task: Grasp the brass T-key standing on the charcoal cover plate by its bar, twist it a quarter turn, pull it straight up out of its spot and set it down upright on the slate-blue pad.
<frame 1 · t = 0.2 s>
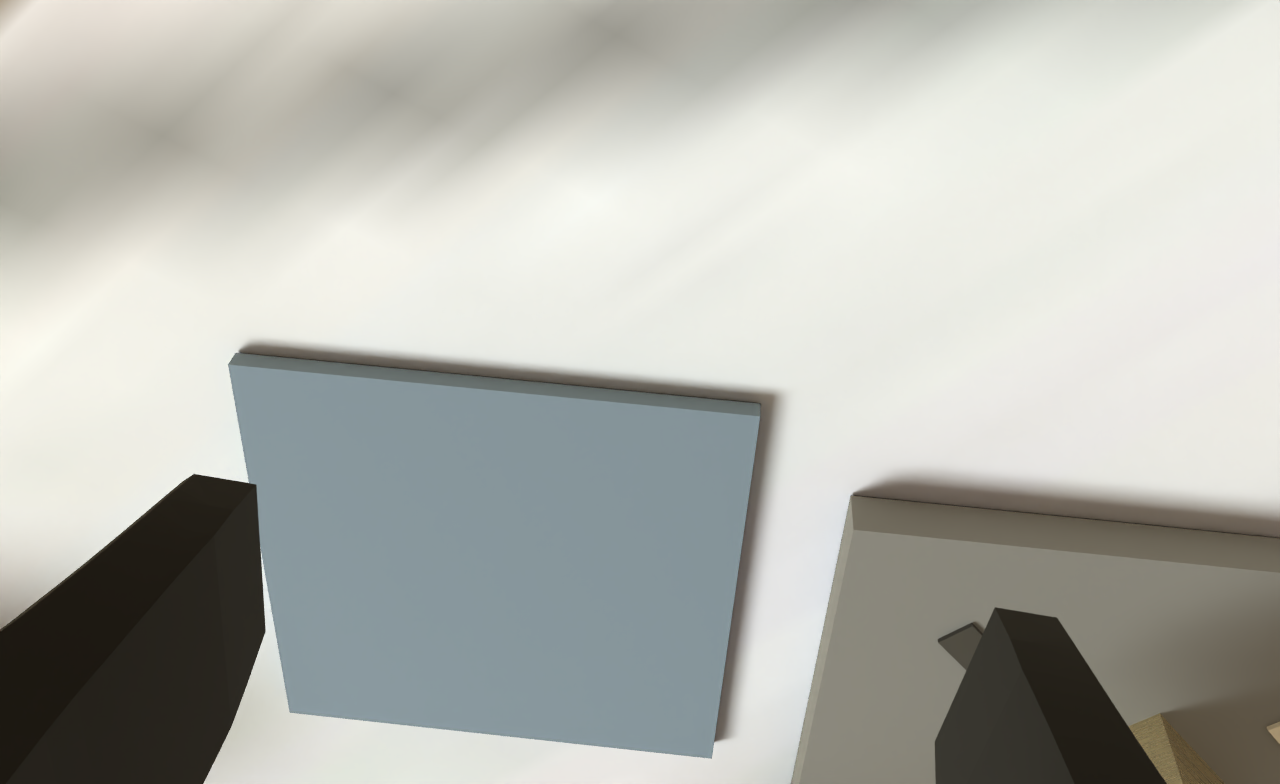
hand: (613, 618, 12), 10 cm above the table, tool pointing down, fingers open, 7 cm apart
cover plate: (1110, 759, 27), on the table
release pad: (499, 569, 26), on the table
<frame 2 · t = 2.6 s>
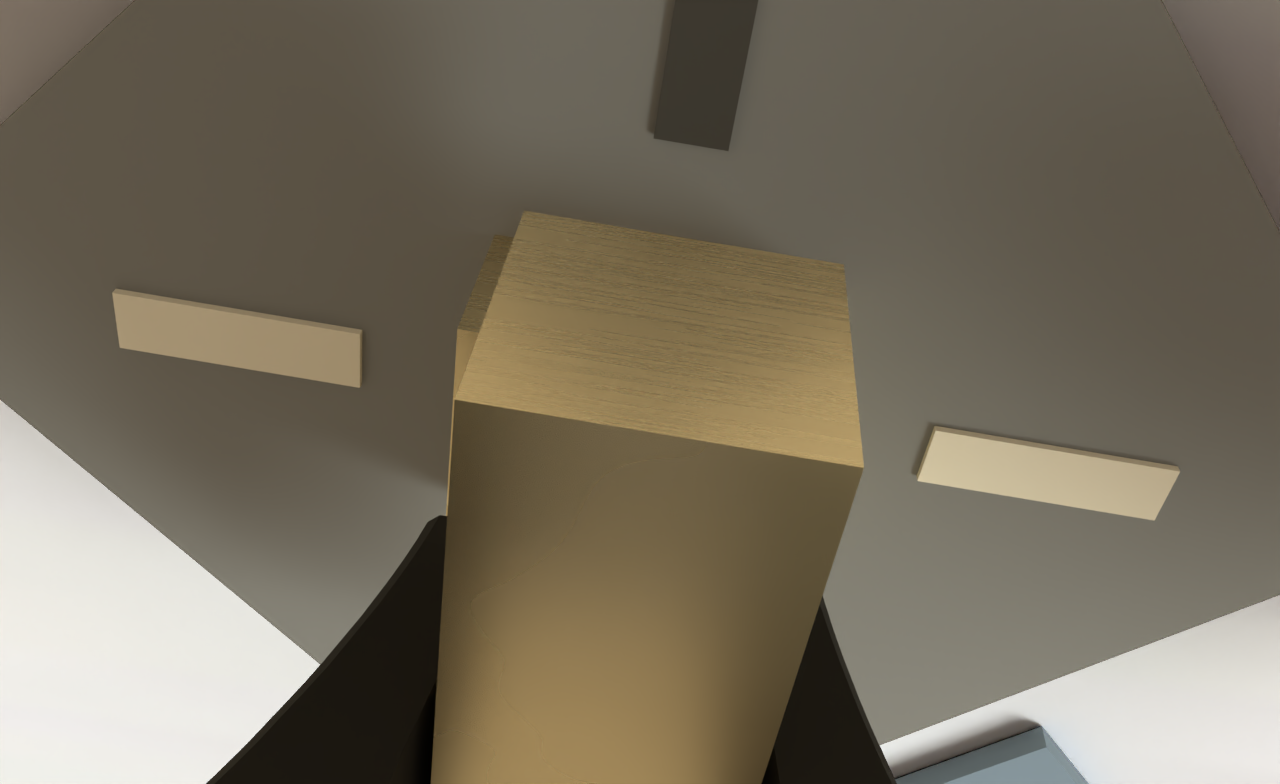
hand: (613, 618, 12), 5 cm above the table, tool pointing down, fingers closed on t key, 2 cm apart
cover plate: (651, 359, 16), on the table
t key: (644, 404, 15), point 1 cm above the table, touching cover plate, gripper
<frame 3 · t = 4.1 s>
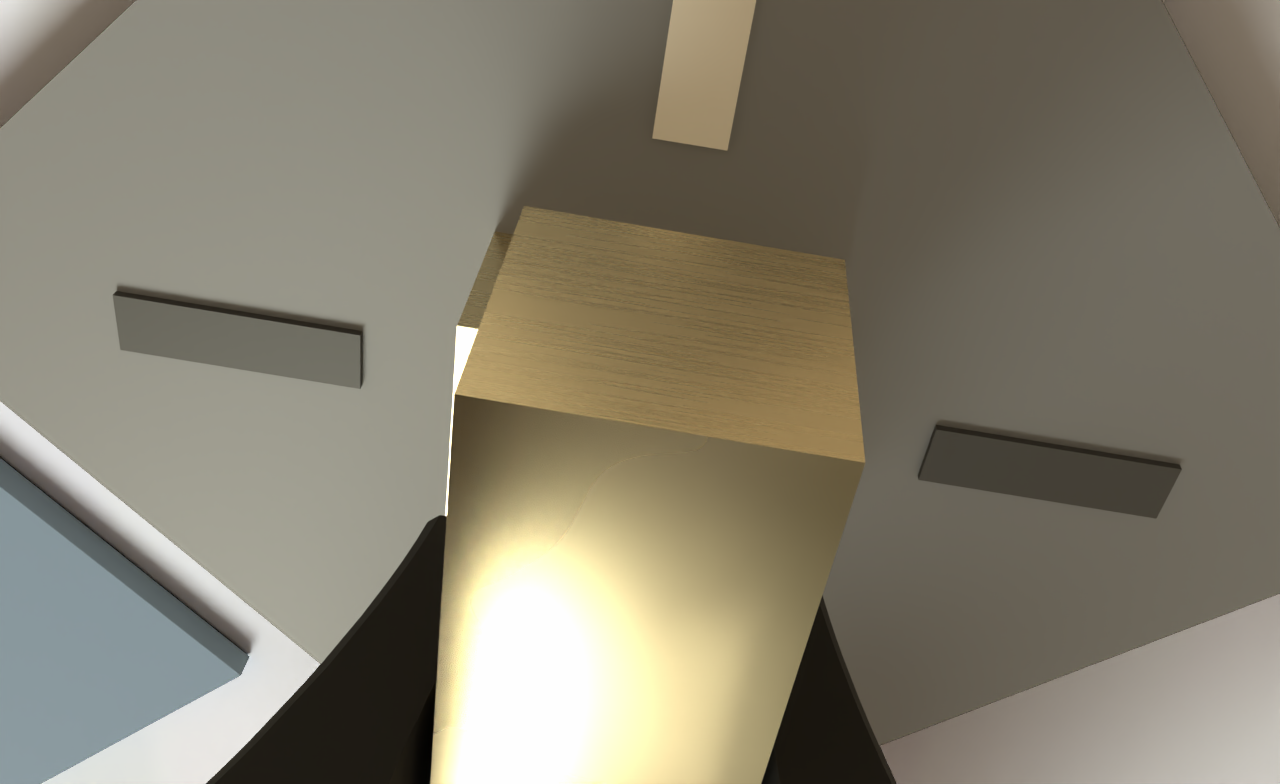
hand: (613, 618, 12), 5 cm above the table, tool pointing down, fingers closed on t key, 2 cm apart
cover plate: (651, 359, 16), on the table
t key: (644, 401, 15), point 1 cm above the table, touching cover plate, gripper
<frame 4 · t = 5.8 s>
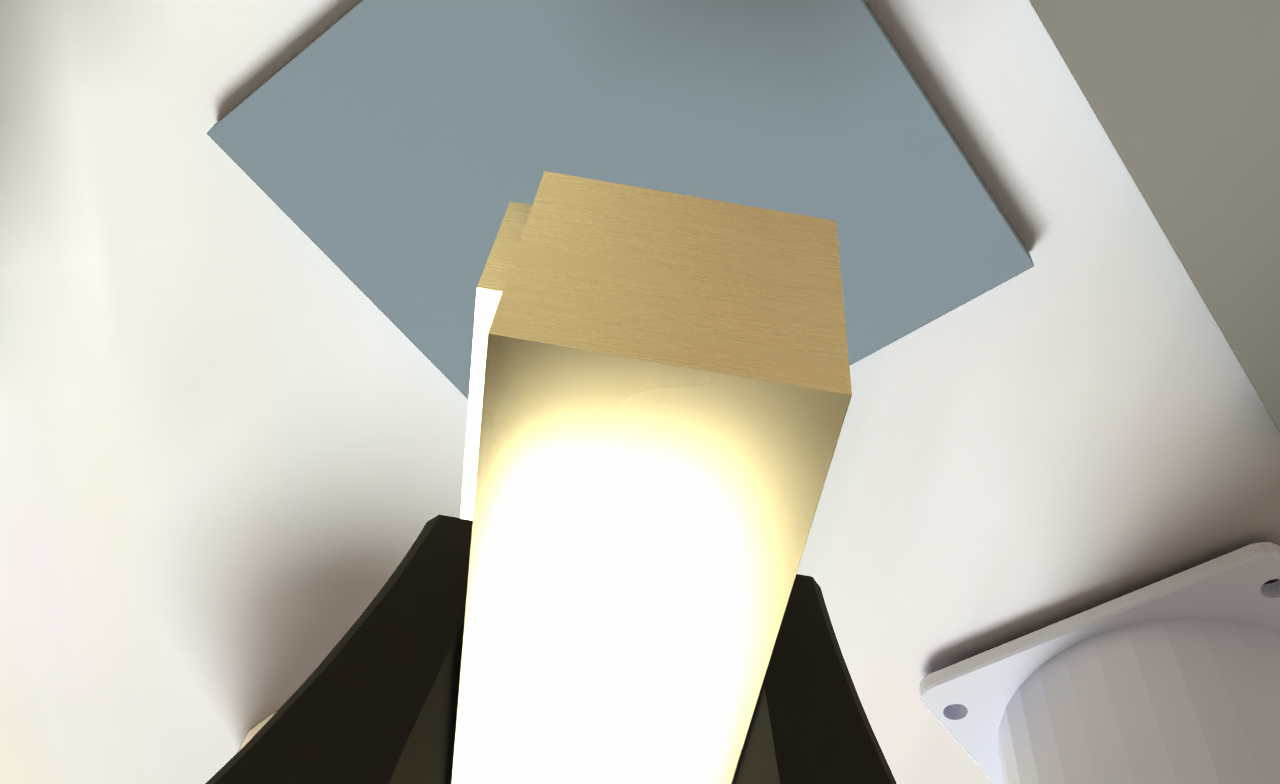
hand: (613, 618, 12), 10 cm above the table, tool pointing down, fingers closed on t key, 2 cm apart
t key: (650, 363, 16), point 6 cm above the table, touching gripper
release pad: (623, 189, 21), on the table
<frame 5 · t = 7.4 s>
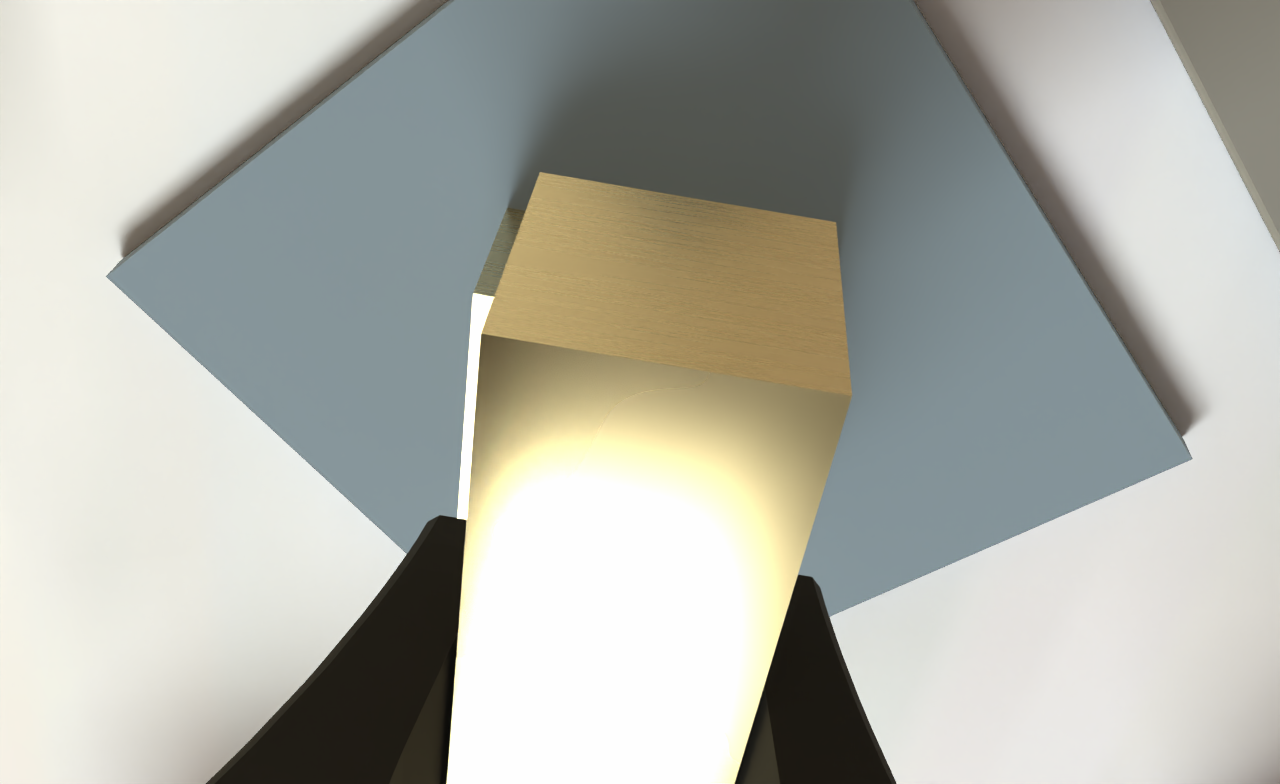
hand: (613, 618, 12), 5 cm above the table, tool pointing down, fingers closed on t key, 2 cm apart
t key: (648, 371, 15), resting on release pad, touching gripper
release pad: (653, 351, 16), on the table
when the fingers open (5 cm above the table, at t = 7.9 s): t key stays where it is, resting on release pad.
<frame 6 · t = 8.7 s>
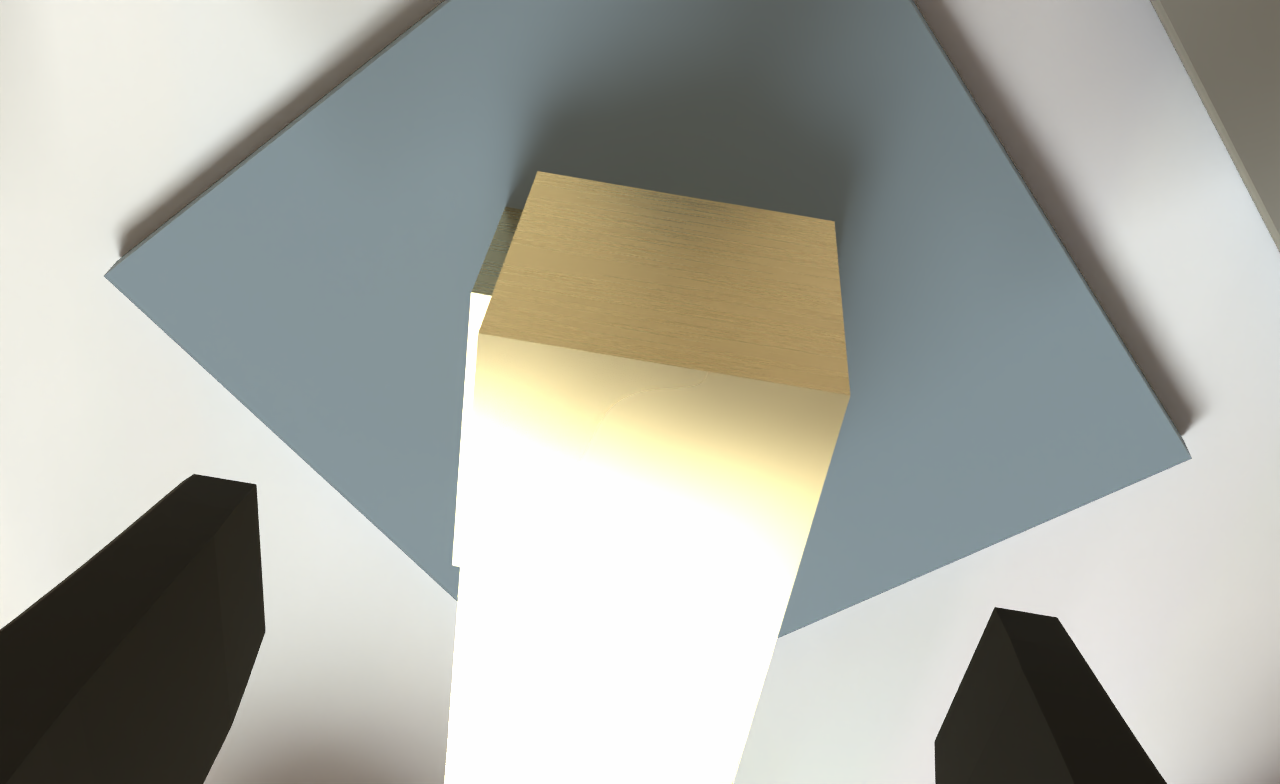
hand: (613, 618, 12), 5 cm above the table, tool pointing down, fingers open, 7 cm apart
t key: (647, 371, 15), resting on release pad
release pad: (652, 350, 16), on the table
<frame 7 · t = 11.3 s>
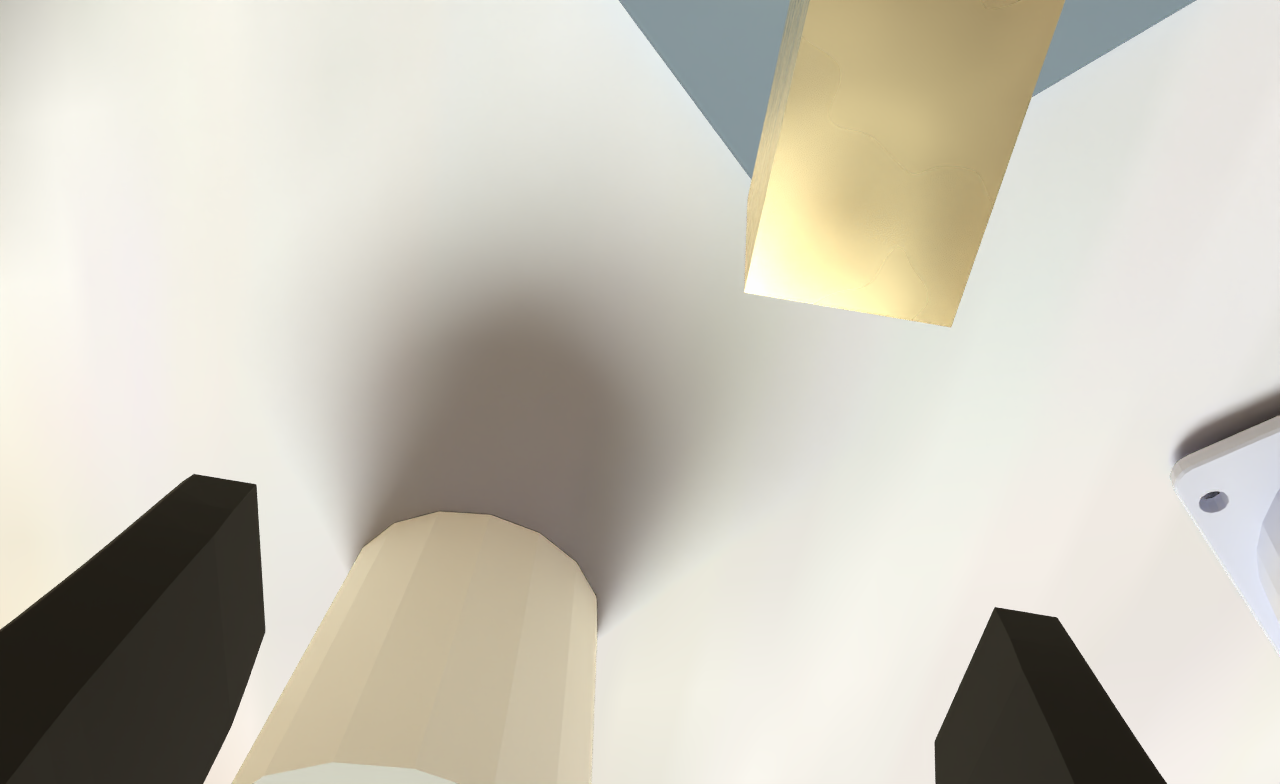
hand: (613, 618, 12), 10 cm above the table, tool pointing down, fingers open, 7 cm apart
beige cylinder: (476, 600, 27), on the table
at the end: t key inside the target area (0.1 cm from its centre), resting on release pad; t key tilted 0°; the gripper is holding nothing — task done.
